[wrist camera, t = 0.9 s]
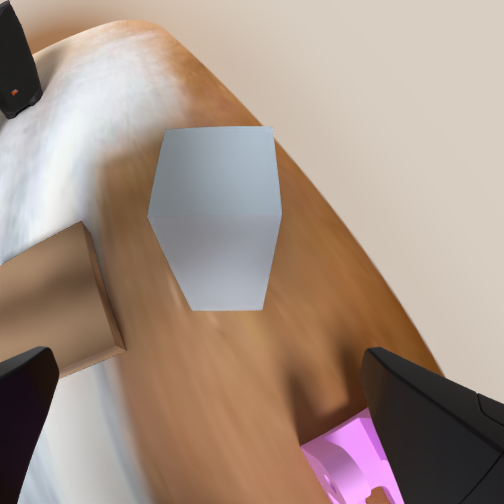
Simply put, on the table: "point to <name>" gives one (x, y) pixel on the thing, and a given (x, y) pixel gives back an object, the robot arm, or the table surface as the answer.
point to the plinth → (58, 303)
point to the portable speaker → (15, 66)
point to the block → (218, 213)
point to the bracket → (351, 462)
